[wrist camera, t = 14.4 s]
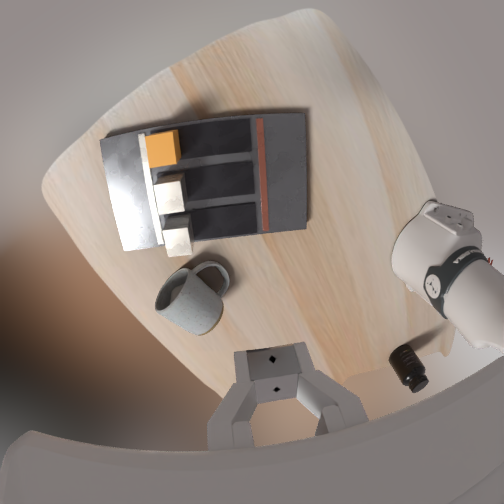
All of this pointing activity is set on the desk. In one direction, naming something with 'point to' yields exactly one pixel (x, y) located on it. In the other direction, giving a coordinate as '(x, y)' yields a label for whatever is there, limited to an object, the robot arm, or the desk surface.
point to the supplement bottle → (408, 368)
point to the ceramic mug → (192, 300)
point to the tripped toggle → (163, 148)
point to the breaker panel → (210, 182)
